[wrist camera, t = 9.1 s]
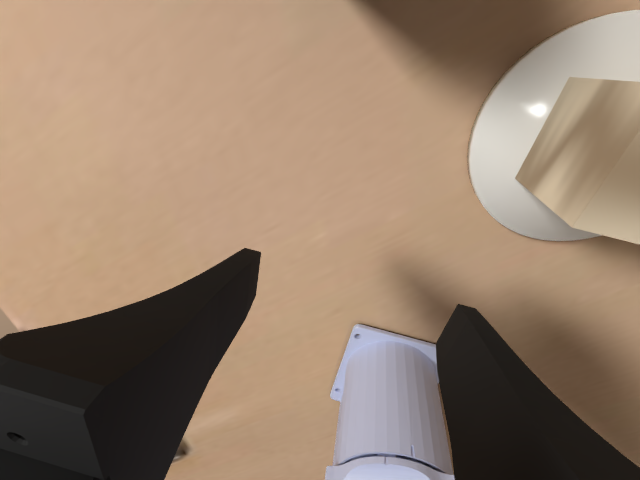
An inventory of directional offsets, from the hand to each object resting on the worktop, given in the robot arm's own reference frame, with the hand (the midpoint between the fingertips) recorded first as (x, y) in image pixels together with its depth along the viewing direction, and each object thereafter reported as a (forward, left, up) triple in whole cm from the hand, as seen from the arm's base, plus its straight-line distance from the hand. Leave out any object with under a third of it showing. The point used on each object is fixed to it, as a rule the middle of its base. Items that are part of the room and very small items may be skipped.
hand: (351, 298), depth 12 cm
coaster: (+6, -10, -10) cm, 15 cm away
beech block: (+6, -10, -9) cm, 15 cm away
